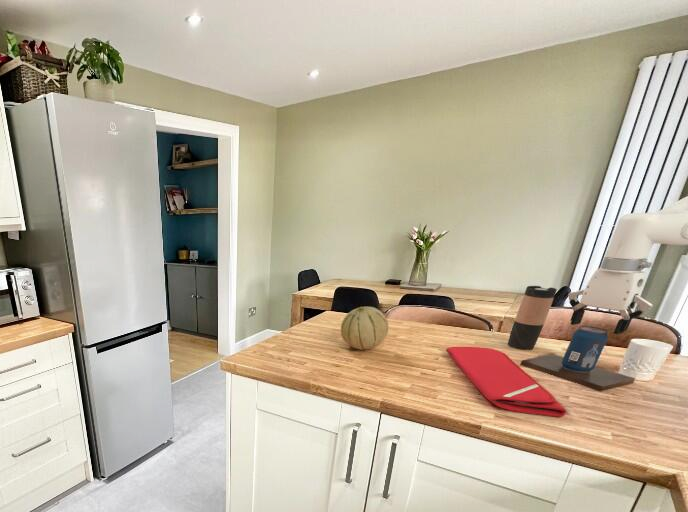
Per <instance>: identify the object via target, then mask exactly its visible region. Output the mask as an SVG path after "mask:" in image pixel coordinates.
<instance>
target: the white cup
mask: <svg viewBox="0 0 688 512" xmlns="http://www.w3.org/2000/svg"><path fill="white" fill-rule="evenodd" d="M673 349H674V346H673V345H672V344H670V343H668V342H663V341H659V340H654V339H648V338H632V339H630V341H629V343H628V346H627V348H626V350H625V352H624V356H623V358H622V360H621V363H620V367H619V369H618V372H617V373H619V374H622V375H625V376H629V377H632V378H635V380H634V381H640V382H650V381H653V379H654V378H655V376H656V374H657V373H658V372H659V370H660V369H661V367H662V366H663V364H664V363H665V361H666V360H667V358H668V357H669V355H670V353H671V352H672V350H673Z"/></svg>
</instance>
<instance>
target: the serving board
mask: <svg viewBox="0 0 688 512" xmlns="http://www.w3.org/2000/svg"><path fill="white" fill-rule="evenodd" d="M563 357H564V356H559V355H556V354H553V353H552V354H546V355H542V356H536V357H532V358H527V359H522V360H521V361H520V366H522V367H525V368H527V369H532V370H534V371H537V372H540V373H543V374H546V373H547V374H546V375H549V374H550V376H552V375H553V376H552V377H555V376H556V378H559V379H562V380H565V381H568V382H571V383H573V382H574V384H576V383H577V385H579V384H580V385H579V386H583V387H586V388H589V389H592V390H595V391H598V392H604V391H608V390H612V389H617V388H620V387H624V386H628V385H631V384H634V382H635V381H636V380H635V378H632V377H629V376H625V375H622V374H619V373H618V372H615V371H611V370H608V369H605V368H601V367H598V366H595V367H594V369H592V370H591V371H589V372H587V373H581V372H574V371H570V370H567V369H565V368H564V367H563V365H562V360H563Z"/></svg>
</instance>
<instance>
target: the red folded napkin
mask: <svg viewBox="0 0 688 512" xmlns="http://www.w3.org/2000/svg"><path fill="white" fill-rule="evenodd" d="M445 351H446V353H447V354H448V355H449V356H450V358H451V359H452V361H454V363H455V364H456V365H457V367H458V368H459V369H460V370H461V371H462V372H463V374H464V375H465V376H466V377H467V379H468V380H469V381H470V382H471V384H472V385H473V386H474V387H475V389H477V390H478V391H479V392H480V393H481V394H482V395H483V396H484V397H485V398H486V399H487V400H488V401H489V402H491V403H492V404H493V405H494V406H497V407H498V408H500V409H503V410H506V411H512V412H516V413H517V412H518V413H525V414H532V415H539V416H545V415H546V417H552V416H554V418H562V417H564V416H565V415H566V413H567V410H566V408H565V407H564V406H563V405H561V404H560V403H559V402H558V401H557V400H556V398H555V397H554V395H553V394H552V393H550V392H549V391H548V390H547V389H545V388H544V387H543V386H542V385H541V384H540V383H539V382H538V381H536V380H535V379H534V378H533V377H532V376H531V375H529V373H527V372H526V370H525V371H524V369H522V367H520V366H519V365H518V364H517V363H516V362H515V361H513V359H511V358H510V357H509V355H507V354H506V353H504V352H503V351H500V350H497V349H495V348H489V347H480V346H450V347H447V348H445Z"/></svg>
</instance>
